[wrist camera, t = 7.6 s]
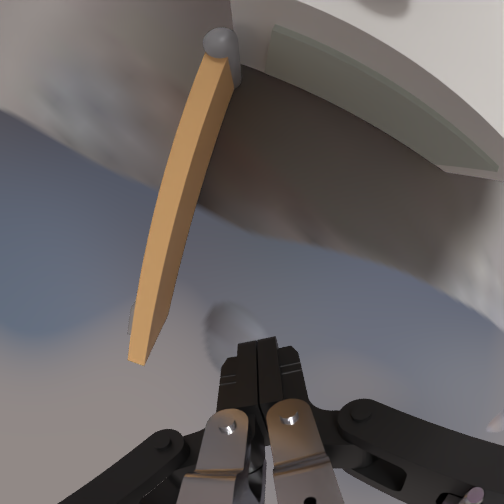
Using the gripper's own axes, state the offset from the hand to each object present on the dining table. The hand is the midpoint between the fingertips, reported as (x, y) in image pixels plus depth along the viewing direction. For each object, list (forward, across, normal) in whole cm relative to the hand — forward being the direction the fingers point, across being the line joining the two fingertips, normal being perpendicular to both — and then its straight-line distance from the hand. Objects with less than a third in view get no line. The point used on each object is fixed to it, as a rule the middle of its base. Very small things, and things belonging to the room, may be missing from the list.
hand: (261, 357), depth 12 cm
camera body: (+6, -10, -12) cm, 17 cm away
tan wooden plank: (+5, +2, -6) cm, 9 cm away
